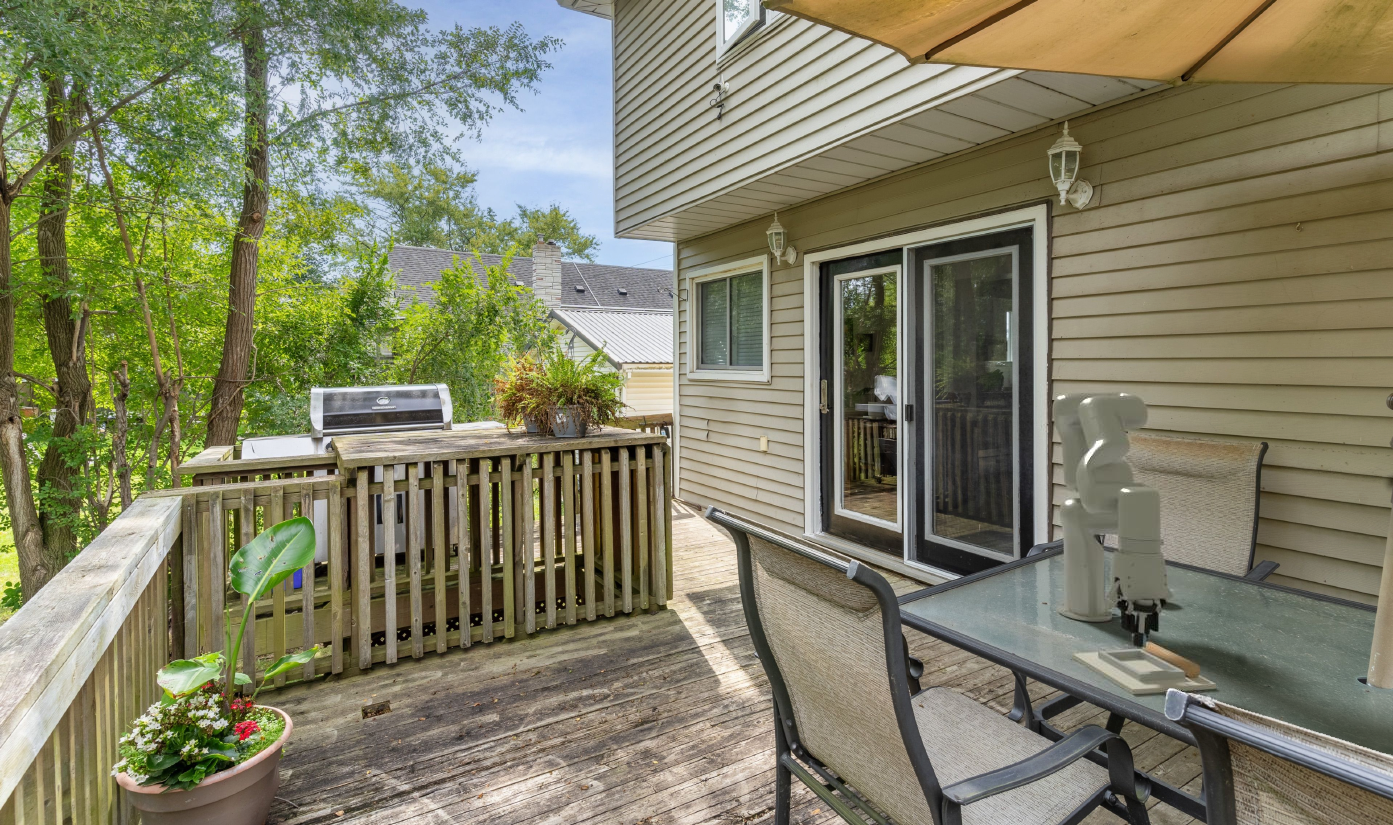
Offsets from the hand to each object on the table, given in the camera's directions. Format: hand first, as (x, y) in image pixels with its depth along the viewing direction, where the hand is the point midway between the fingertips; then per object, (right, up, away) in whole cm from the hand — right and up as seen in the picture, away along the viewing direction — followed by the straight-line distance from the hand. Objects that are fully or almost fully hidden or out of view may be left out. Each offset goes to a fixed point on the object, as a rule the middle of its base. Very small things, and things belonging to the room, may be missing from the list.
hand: (1139, 629), depth 137 cm
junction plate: (0, -9, 0) cm, 9 cm away
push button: (0, -3, 0) cm, 3 cm away
